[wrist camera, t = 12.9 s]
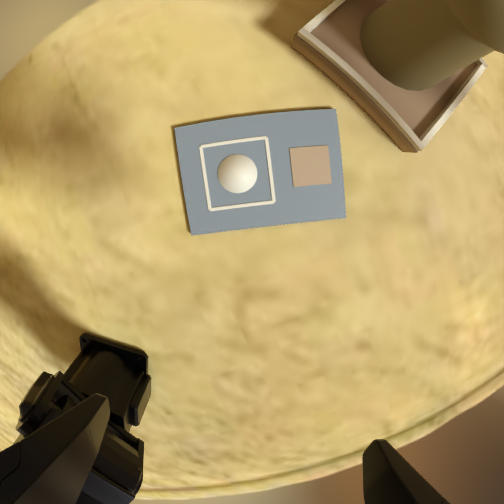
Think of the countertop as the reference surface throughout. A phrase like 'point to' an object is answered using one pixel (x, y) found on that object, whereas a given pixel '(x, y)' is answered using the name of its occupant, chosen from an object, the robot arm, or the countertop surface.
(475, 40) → the olive pawn figure
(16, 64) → the countertop surface
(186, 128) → the blueprint card
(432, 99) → the brown square tray
